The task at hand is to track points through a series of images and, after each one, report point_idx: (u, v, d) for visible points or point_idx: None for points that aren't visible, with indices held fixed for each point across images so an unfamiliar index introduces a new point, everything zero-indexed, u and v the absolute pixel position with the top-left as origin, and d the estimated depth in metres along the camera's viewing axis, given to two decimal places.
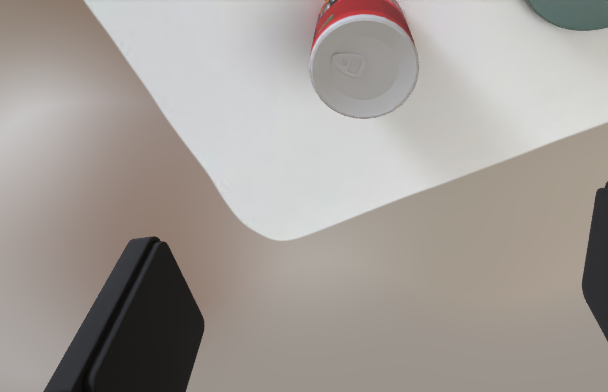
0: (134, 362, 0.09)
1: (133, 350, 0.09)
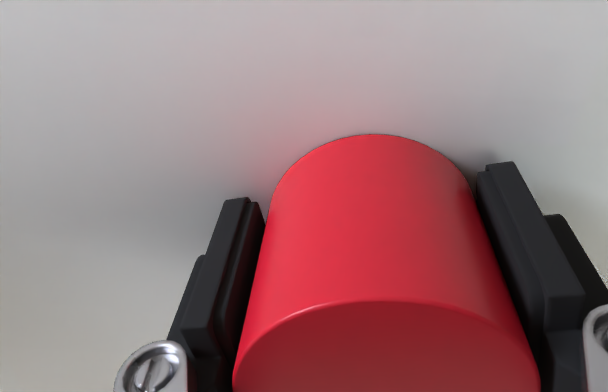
0: (246, 309, 0.09)
1: (244, 297, 0.09)
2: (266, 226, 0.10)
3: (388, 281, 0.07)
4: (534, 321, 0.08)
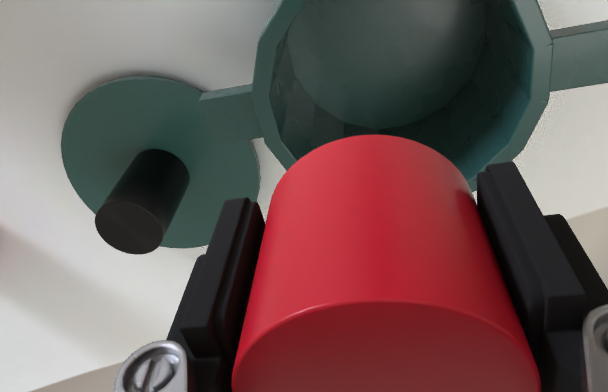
0: (245, 308, 0.09)
1: (244, 297, 0.09)
2: (265, 226, 0.10)
3: (388, 282, 0.07)
4: (534, 321, 0.08)
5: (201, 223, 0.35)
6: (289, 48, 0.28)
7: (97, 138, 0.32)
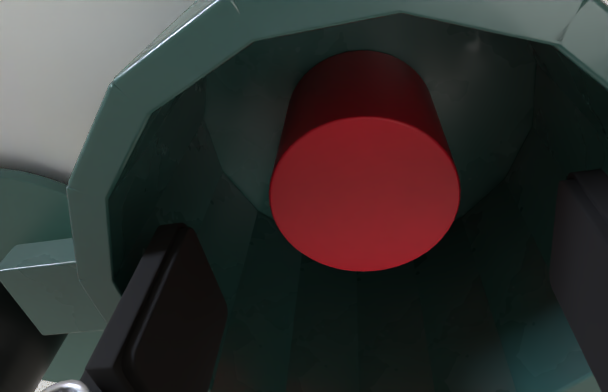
0: (167, 342, 0.09)
1: (166, 331, 0.09)
2: (286, 114, 0.15)
3: (365, 110, 0.11)
4: None
5: None
6: (209, 130, 0.17)
7: None
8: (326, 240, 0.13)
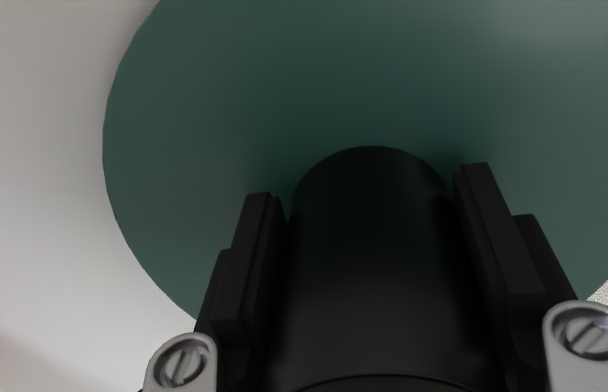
0: (271, 301, 0.09)
1: (270, 290, 0.09)
2: None
3: None
4: (499, 317, 0.08)
5: None
6: None
7: (209, 115, 0.11)
8: None
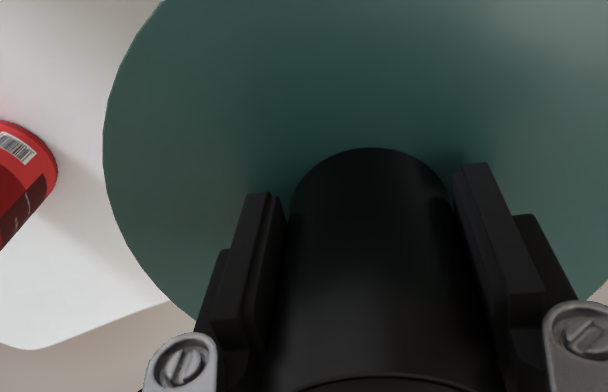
0: (271, 301, 0.09)
1: (270, 290, 0.09)
2: None
3: None
4: (499, 317, 0.08)
5: None
6: None
7: (209, 117, 0.11)
8: None
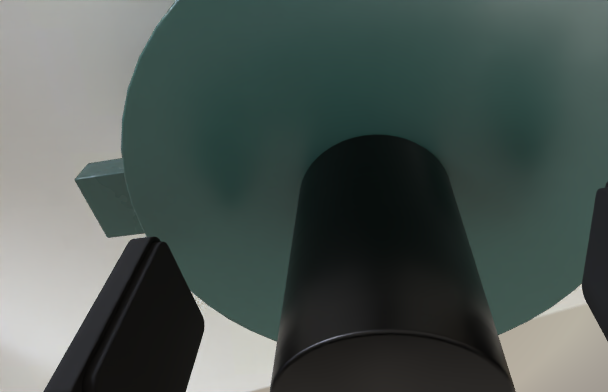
0: (134, 362, 0.09)
1: (133, 350, 0.09)
2: None
3: None
4: None
5: None
6: None
7: (223, 105, 0.12)
8: None
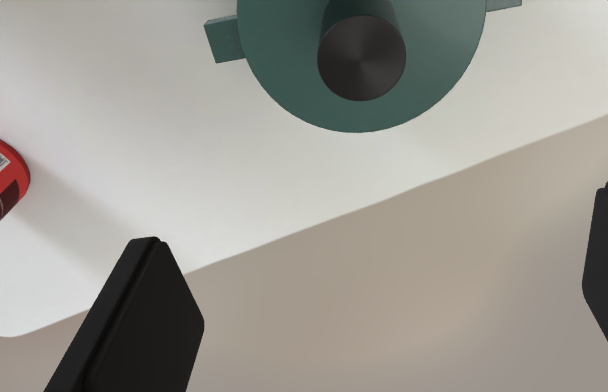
0: (134, 362, 0.09)
1: (133, 350, 0.09)
2: None
3: None
4: None
5: (392, 95, 0.29)
6: None
7: None
8: None
